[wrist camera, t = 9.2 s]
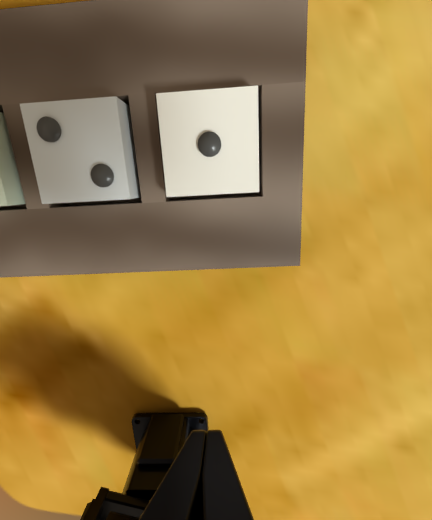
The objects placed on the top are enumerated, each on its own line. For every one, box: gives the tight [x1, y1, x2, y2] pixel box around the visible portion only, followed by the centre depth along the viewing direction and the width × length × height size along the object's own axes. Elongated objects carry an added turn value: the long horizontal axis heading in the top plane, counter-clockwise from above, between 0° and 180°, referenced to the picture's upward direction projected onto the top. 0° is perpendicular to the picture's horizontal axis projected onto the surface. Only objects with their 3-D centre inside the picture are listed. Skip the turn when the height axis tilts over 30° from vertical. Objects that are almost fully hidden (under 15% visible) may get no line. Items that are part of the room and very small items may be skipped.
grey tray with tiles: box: [0, 0, 308, 277], centre depth 17 cm, size 14×24×3 cm, turn 93°
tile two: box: [20, 96, 141, 204], centre depth 16 cm, size 5×5×3 cm
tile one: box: [156, 86, 259, 197], centre depth 15 cm, size 5×5×3 cm
